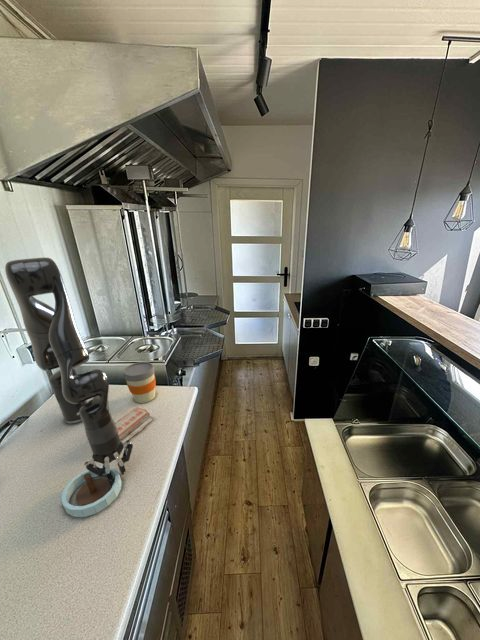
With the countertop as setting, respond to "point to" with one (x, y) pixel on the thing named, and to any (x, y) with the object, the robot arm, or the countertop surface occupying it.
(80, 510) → the ring
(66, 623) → the countertop surface
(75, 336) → the robot arm
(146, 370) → the reusable coffee cup
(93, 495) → the ring stand
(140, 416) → the packaged product
